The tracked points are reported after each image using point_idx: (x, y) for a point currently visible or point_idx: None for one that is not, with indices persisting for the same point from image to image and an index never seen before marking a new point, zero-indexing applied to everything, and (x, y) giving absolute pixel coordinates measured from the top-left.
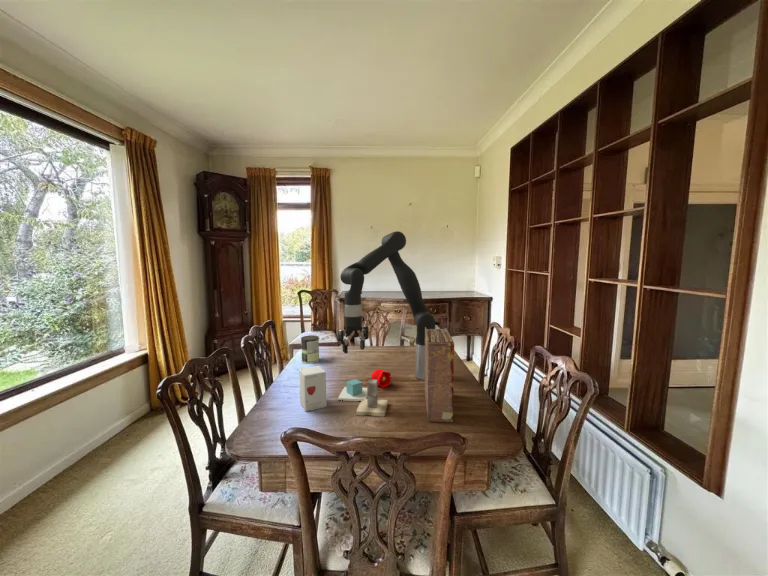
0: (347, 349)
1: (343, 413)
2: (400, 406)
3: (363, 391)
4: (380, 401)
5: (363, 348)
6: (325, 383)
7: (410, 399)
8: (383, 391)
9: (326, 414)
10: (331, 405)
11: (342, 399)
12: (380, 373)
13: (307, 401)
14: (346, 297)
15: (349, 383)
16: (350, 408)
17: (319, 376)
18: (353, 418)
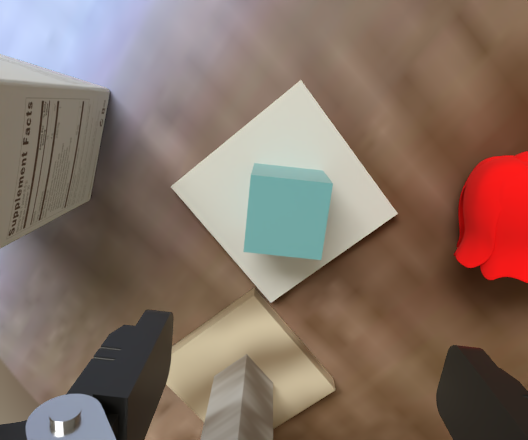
0: (150, 416)
1: (120, 309)
2: (349, 430)
3: (334, 223)
4: (299, 378)
5: (453, 418)
6: (5, 243)
7: (435, 420)
8: (427, 276)
9: (53, 262)
10: (118, 205)
11: (190, 206)
12: (515, 256)
13: None
14: None
15: (247, 213)
16: (173, 296)
17: None
18: None
